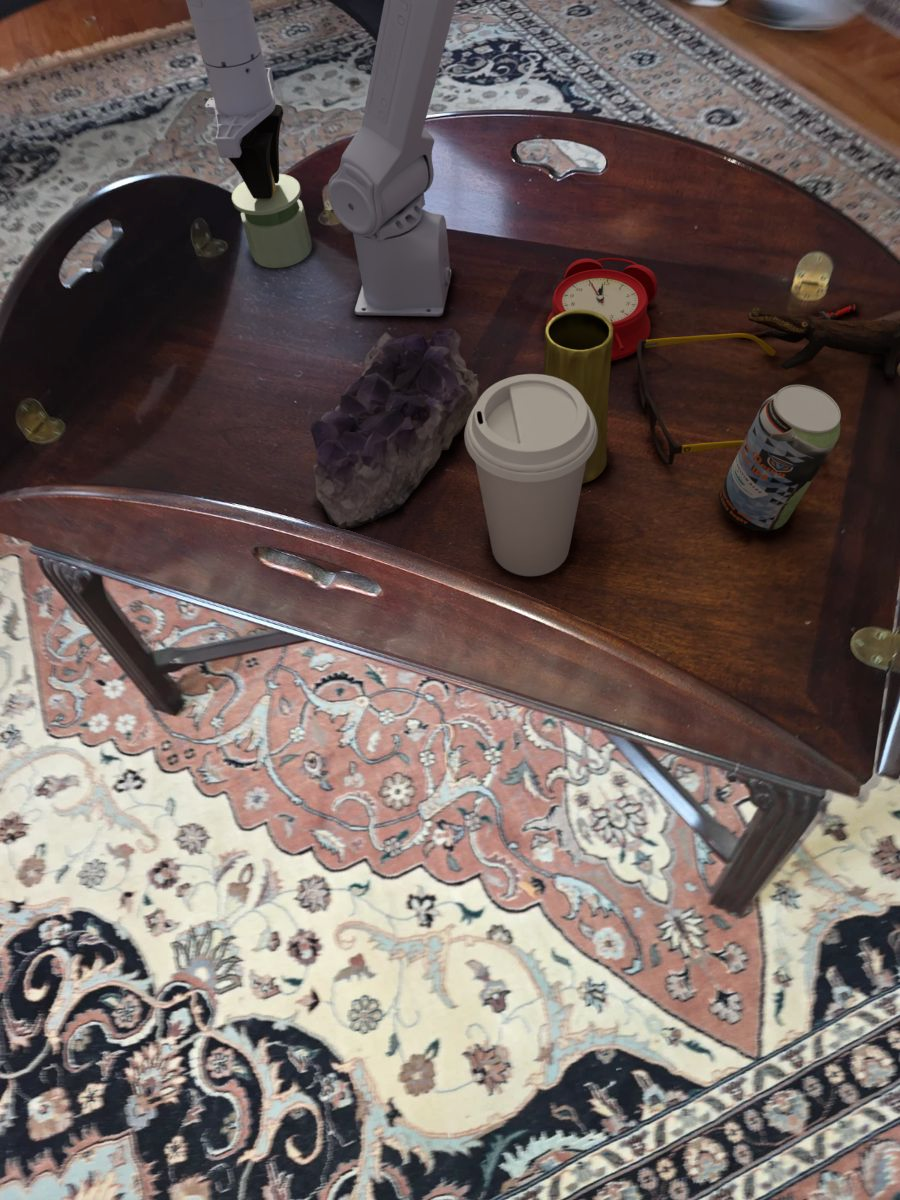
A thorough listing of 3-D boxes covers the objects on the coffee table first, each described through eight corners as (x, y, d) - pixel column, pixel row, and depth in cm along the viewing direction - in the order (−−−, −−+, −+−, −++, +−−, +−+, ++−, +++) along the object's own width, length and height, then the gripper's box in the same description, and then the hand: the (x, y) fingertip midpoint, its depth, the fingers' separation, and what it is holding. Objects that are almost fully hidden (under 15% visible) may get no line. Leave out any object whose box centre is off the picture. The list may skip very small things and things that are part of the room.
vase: (602, 489, 77) (615, 358, 65) (533, 482, 78) (533, 352, 66) (609, 440, 80) (623, 307, 68) (543, 434, 81) (544, 302, 69)
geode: (409, 553, 74) (376, 470, 66) (299, 526, 79) (256, 446, 71) (504, 393, 84) (485, 304, 76) (400, 378, 88) (372, 292, 80)
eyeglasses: (625, 372, 85) (629, 338, 82) (774, 355, 85) (783, 320, 81) (658, 479, 76) (664, 447, 73) (823, 460, 76) (837, 426, 73)
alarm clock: (531, 333, 84) (569, 216, 89) (534, 373, 90) (570, 261, 95) (639, 348, 81) (672, 227, 86) (636, 389, 87) (667, 273, 92)
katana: (864, 311, 87) (863, 316, 87) (856, 300, 88) (854, 306, 88) (742, 340, 86) (741, 345, 87) (735, 329, 87) (734, 335, 88)
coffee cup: (490, 494, 77) (483, 358, 65) (598, 513, 75) (611, 375, 63) (459, 579, 72) (445, 448, 60) (574, 602, 70) (583, 470, 58)
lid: (308, 182, 98) (300, 141, 95) (293, 220, 94) (283, 179, 90) (244, 182, 99) (233, 142, 96) (226, 220, 95) (213, 179, 91)
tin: (317, 233, 103) (309, 193, 99) (304, 268, 99) (294, 228, 95) (260, 232, 104) (249, 193, 100) (245, 268, 100) (233, 228, 96)
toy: (741, 370, 80) (768, 327, 76) (731, 318, 84) (756, 274, 80) (965, 414, 83) (1003, 375, 79) (945, 361, 87) (980, 321, 83)
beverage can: (707, 489, 76) (734, 380, 66) (792, 479, 76) (831, 369, 66) (727, 545, 72) (757, 438, 62) (816, 535, 72) (861, 427, 62)
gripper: (213, 22, 89) (248, 154, 100) (169, 91, 81) (212, 226, 92) (280, 20, 88) (307, 154, 99) (242, 89, 80) (277, 227, 91)
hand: (266, 189), depth 96 cm, fingers closed on lid, 2 cm apart
